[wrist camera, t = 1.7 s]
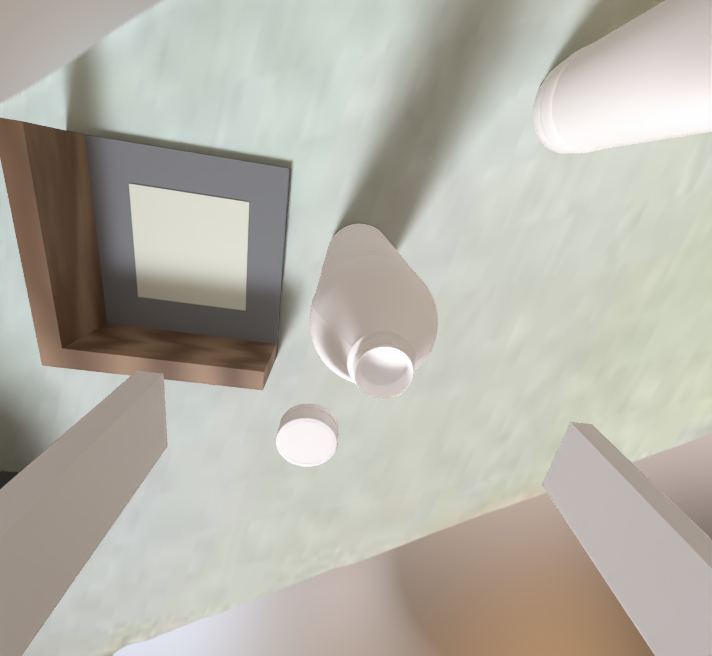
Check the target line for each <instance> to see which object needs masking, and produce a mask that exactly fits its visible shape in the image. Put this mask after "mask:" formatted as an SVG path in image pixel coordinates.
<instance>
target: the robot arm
mask: <svg viewBox="0 0 712 656" xmlns="http://www.w3.org/2000/svg"><path fill="white" fill-rule="evenodd" d="M166 448H167V429H166V411H165V392H164V374H162V373H154V372H145V371H136V372H135V373H134V374H133V375H131V376H130V377H129V378H128V379H127V380H126V381H125V382H123V383H122V384H121V385H120V386H119V387H118V388H116V389H115V390H114V391H113V392H112V393H111V394H110V395H108V396H107V397H106V398H105V399H104V400H103V401H101V402H100V403H99V404H98V405H97V406H96V407H95V408H93V409H92V410H91V411H90V412H89V413H88V414H86V415H85V416H84V417H83V418H82V419H81V420H80V421H78V422H77V423H76V424H75V425H74V426H73V427H71V428H70V429H69V430H68V431H67V432H66V433H65V434H63V435H62V436H61V437H60V438H59V439H58V440H57V441H55V442H54V443H53V444H52V445H51V446H50V447H48V448H47V449H46V450H45V451H44V452H43V453H42V454H40V455H39V456H38V457H37V458H36V459H35V460H33V461H32V462H31V463H30V464H29V465H28V466H27V467H25V468H24V469H23V470H22V471H21V472H20V473H16V472H6V471H1V472H0V656H22V654H23V653H24V652H25V650H26V649H27V647H28V646H29V644H30V643H31V642H32V640H33V639H34V637H35V636H36V634H37V633H38V631H39V630H40V629H41V627H42V626H43V624H44V623H45V621H46V620H47V619H48V617H49V616H50V614H51V613H52V611H53V610H54V608H55V607H56V606H57V604H58V603H59V601H60V600H61V598H62V597H63V596H64V594H65V593H66V591H67V590H68V588H69V587H70V585H71V584H72V583H73V581H74V580H75V578H76V577H77V575H78V574H79V573H80V571H81V570H82V568H83V567H84V565H85V564H86V562H87V561H88V560H89V558H90V557H91V555H92V554H93V552H94V551H95V550H96V548H97V547H98V545H99V544H100V542H101V541H102V540H103V538H104V537H105V535H106V534H107V532H108V531H109V529H110V528H111V527H112V525H113V524H114V522H115V521H116V519H117V518H118V517H119V515H120V514H121V512H122V511H123V509H124V508H125V506H126V505H127V504H128V502H129V501H130V499H131V498H132V496H133V495H134V494H135V492H136V491H137V489H138V488H139V486H140V485H141V483H142V482H143V481H144V479H145V478H146V476H147V475H148V473H149V472H150V471H151V469H152V468H153V466H154V465H155V463H156V462H157V460H158V459H159V458H160V456H161V455H162V453H163V452H164V450H165V449H166ZM542 486H543V487H544V489H545V490H546V492H547V493H548V495H549V496H550V498H551V499H552V501H553V502H554V504H555V505H556V507H557V508H558V510H559V511H560V513H561V514H562V516H563V517H564V519H565V521H566V522H567V524H568V525H569V527H570V528H571V530H572V531H573V533H574V534H575V536H576V537H577V539H578V540H579V542H580V543H581V545H582V546H583V547H584V549H585V551H586V552H587V554H588V555H589V557H590V558H591V560H592V561H593V563H594V564H595V565H596V567H597V569H598V570H599V572H600V573H601V575H602V576H603V578H604V579H605V581H606V582H607V584H608V585H609V587H610V588H611V590H612V591H613V593H614V595H615V596H616V598H617V599H618V600H619V602H620V603H621V605H622V607H623V608H624V610H625V611H626V613H627V614H628V616H629V617H630V618H631V620H632V622H633V623H634V625H635V626H636V628H637V629H638V631H639V632H640V634H641V635H642V637H643V638H644V640H645V641H646V643H647V644H648V646H649V647H650V649H651V650H652V652H653V653H654V655H655V656H712V538H710V537H709V536H708V535H707V534H706V533H705V532H704V531H703V530H701V528H699V527H698V526H697V525H696V524H695V523H694V522H693V521H692V520H691V519H690V518H689V517H688V516H687V515H686V514H685V513H684V512H683V511H682V510H681V509H680V508H679V507H677V506H676V505H675V504H674V503H673V502H672V501H671V500H670V499H669V498H668V497H667V496H666V495H665V494H664V493H663V492H662V491H661V490H660V489H659V488H658V487H657V486H655V485H654V484H653V483H652V482H651V481H650V480H649V479H648V478H647V477H646V476H645V475H644V474H643V473H642V472H641V471H640V470H639V469H638V468H637V467H636V466H635V465H634V464H633V463H632V462H631V461H629V460H628V459H627V458H626V457H625V456H624V455H623V454H622V453H621V452H620V451H619V450H618V449H617V448H616V447H615V446H614V445H613V444H612V443H611V442H610V441H609V440H608V439H606V438H605V437H604V436H603V435H602V434H601V433H600V432H599V431H598V430H597V429H596V428H595V427H594V426H593V425H592V424H583V423H575V422H570V424H569V426H568V428H567V431H566V433H565V435H564V437H563V439H562V441H561V444H560V446H559V448H558V450H557V452H556V455H555V457H554V459H553V461H552V463H551V465H550V468H549V470H548V472H547V474H546V476H545V478H544V481H543V483H542Z"/></svg>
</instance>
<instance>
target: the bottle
mask: <svg viewBox="0 0 712 656" xmlns="http://www.w3.org/2000/svg"><path fill="white" fill-rule="evenodd" d="M533 124H534V127H535V130H536V133H537V136H538V138H539V139H540V140H541V142H542V143H543V144H544V145H545V146H546V147H547V148H548V149H550V150H553V151H555V152H557V153H559V154H574V153H589V152H593V151H596V150H599V149H605V148H612V147H618V146H624V145H630V144H637V143H643V142H649V141H656V140H662V139H668V138H674V137H681V136H687V135H693V134H699V133H706V132H712V0H664V1H663V2H661V3H659V4H658V5H656V6H654V7H653V8H651V9H649V10H648V11H646V12H644V13H643V14H641V15H639V16H637V17H636V18H634V19H632V20H631V21H629V22H627V23H626V24H624V25H622V26H621V27H619V28H617V29H616V30H614V31H612V32H611V33H609V34H607V35H605V36H604V37H602V38H600V39H599V40H597V41H595V42H594V43H592V44H590V45H588V46H585V47H583V48H581V49H579V50H577V51H576V52H574V53H573V54H572V55H570V56H569V57H568V58H567V59H565V60H563V61H562V62H561V63H560V64H559V65H557V66H556V67H555V68H554V69H553V70H552V71H550V72H549V73H548V75H547V77H546V78H545V80H544V81H543V83H542V84H541V86H540V87H539V89H538V93H537V96H536V99H535V102H534V106H533Z"/></svg>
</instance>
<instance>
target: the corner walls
mask: <svg viewBox="0 0 712 656" xmlns="http://www.w3.org/2000/svg"><path fill="white" fill-rule="evenodd" d="M0 158H1V163H2V168H3V173H4V178H5V183H6V188H7V193H8V198H9V203H10V208H11V213H12V218H13V223H14V228H15V233H16V238H17V243H18V248H19V253H20V257H21V262H22V267H23V272H24V277H25V282H26V287H27V292H28V297H29V302H30V307H31V312H32V317H33V322H34V327H35V332H36V337H37V342H38V347H39V352H40V357H41V362H42V365H43V366H51V367H60V368H69V369H78V370H87V371H96V372H105V373H114V374H123V375H133V374H134V373H135V372H136V371H145V372H154V373H162V374H164V379H167V380H176V381H185V382H194V383H203V384H212V385H221V386H230V387H239V388H248V389H257V390H263V388H264V386H265V384H266V381H267V379H268V376H269V374H270V371H271V369H272V367H273V364H274V362H275V359H276V353H277V344H272V343H264V342H256V341H248V340H240V339H231V338H223V337H215V336H207V335H199V334H191V333H183V332H175V331H166V330H158V329H150V328H142V327H134V326H126V325H118V324H110V323H107V318H106V309H105V301H104V293H103V284H102V276H101V267H100V259H99V250H98V242H97V234H96V225H95V217H94V208H93V200H92V191H91V183H90V175H89V166H88V158H87V149H86V141H85V135H84V134H79V133H74V132H69V131H65V130H60V129H55V128H51V127H46V126H41V125H36V124H32V123H27V122H22V121H16V120H10V119H4V118H0Z"/></svg>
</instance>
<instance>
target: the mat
mask: <svg viewBox="0 0 712 656" xmlns="http://www.w3.org/2000/svg"><path fill="white" fill-rule="evenodd" d="M85 141H86V149H87V158H88V166H89V175H90V183H91V191H92V200H93V208H94V217H95V225H96V234H97V242H98V250H99V259H100V267H101V276H102V284H103V293H104V301H105V309H106V318H107V323H110V324H118V325H126V326H134V327H142V328H150V329H158V330H166V331H175V332H183V333H191V334H199V335H207V336H215V337H223V338H231V339H240V340H248V341H256V342H264V343H272V344H277V340H278V326H279V313H280V299H281V286H282V272H283V259H284V245H285V232H286V218H287V205H288V191H289V178H290V169H289V168H283V167H277V166H271V165H265V164H259V163H253V162H247V161H241V160H235V159H229V158H223V157H217V156H211V155H205V154H199V153H192V152H186V151H180V150H174V149H168V148H162V147H156V146H150V145H144V144H138V143H132V142H126V141H120V140H114V139H108V138H101V137H95V136H89V135H85Z"/></svg>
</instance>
